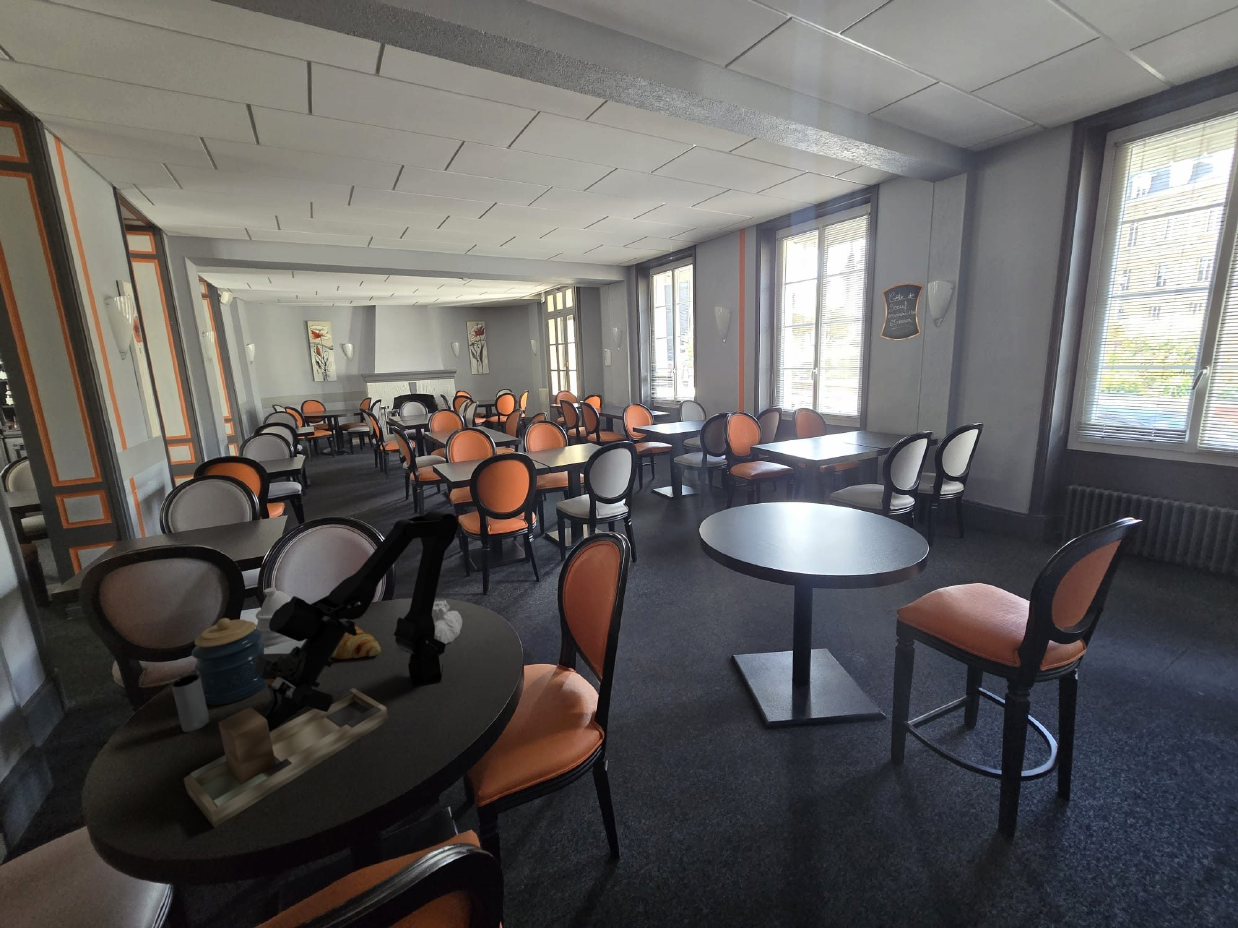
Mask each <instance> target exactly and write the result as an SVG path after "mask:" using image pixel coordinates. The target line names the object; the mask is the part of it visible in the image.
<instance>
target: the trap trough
mask: <svg viewBox="0 0 1238 928" xmlns="http://www.w3.org/2000/svg"><path fill="white" fill-rule="evenodd" d="M333 701H334V702H333V704H332V705H331V707H330V709H329V710H328V712H324V711H321V710H317V709H314V708H312V709H311V710H309V711H307V712H305V713H303V714H301V715H299V716H297V717H295V718H293V719H292V720H290V721H288V722H286V723H285V724H283V725H282V724H281V725H279V726H278V727H277V728H275V729H274V730H273V731H272V732H270V737H271V742H272V747H273V752H274V757H275V762H276V765H274V766H273V767H271V768H269V769H267V770H266V771H265V772H264V773H261V774H259V775H257V776H255V777H254V778H252V779H250V780H249V781H247V782H245V783H243V784H242V785H241V784H240V783H239V782H238V781H237V780H236V779H235V778H234V777H233V775H232V774H231V773H230V772H229V769H228V764H227V760H226V755H225V754H224V755H222V756H220V757H218V758H216V759H215V760H213V761H212V762H209V763H207V764H206V765H204V766H202V767H200V768H198V769H195V770H194V771H192V772H190V774H189V775H187V776H184V777H183V782H184V786H185V789H186V793H187V795H188V796H189V798H191V800H192V801H193V802H194V803H195V805H196V807H198V809H199V810H200V811H201V813H202V814H203V815H204V816H205V818H206V819H207V820H208V821H209V822H210V825H212V826H213V827H214V829H215V828H217V827H218V826H221V825H222V824H223V823H225V822H226V821H228V820H230V819H232V818H233V817H235V816H237V815H238V814H239V813H241V812H243V811H244V810H245V809H248V808H249V807H251V806H253V805H254V804H256V803H257V802H259V801H260V800H262V799H264V798H266V797H267V796H268V795H270V794H272V793H273V792H275V791H277V790H279V789H280V788H282V787H283V786H285V785H286V784H288V783H289V782H292V781H293V780H294V779H296V778H298V777H300V776H301V775H303V774H304V773H306V772H308V771H309V770H311V769H312V768H314V767H315V766H317V765H319V764H321V763H322V762H324V761H325V760H327V759H329V758H330V757H332V756H334V755H335V754H337V753H338V752H339V751H342V750H344V749H345V748H347V747H348V746H350V745H351V744H353V743H355V742H356V741H357V740H360V739H361V738H362V736H363V737H364V736H367V734H369V733H371V732H372V731H374V730H375V729H377V728H379V727H380V726H382V725H384V724H385V723H387V722H388V721H389V715H388V708H387V707H386V706H385V705H383V704H381V703H380V702H378V701H376V700H374V699H373V698H371V697H369V696H368V695H366V694H365V693H362V691H359V690H357V688H355V687H352V688H350V689H347V690H344V691H343V692H341V693H339V694H337V695H335V696H334V697H333Z"/></svg>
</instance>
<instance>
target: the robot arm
mask: <svg viewBox="0 0 1238 928" xmlns="http://www.w3.org/2000/svg"><path fill="white" fill-rule="evenodd" d="M458 529H459V520H458V519H457V516H456V515H454V514H453V513H449V512H444V511H438V510H430V511H427V512H426V513H425V514H423V515H417V516H412V517H409V518H406V519H405V518H404V519H400V520H397V521H396V522H395V523H394V525H393V527H392V529H391V530H390V531H389V533H388V534H387V535H386V537H384V538H383V540H382V541H381V542H380V544H379V545H378V546H377V547H376V548H375V549H374V551H373V552H372V553H371V554H370V555H369V557H368V558H367V559H366V560H365V562H364V564H362V565H361V567H360V568H359V569H358V570H357V571H356V572H355V573H353V574H352V575H350V576H349V577H348V576H347V577H346V578H345V579H343V580H342V581H341V582H340V583H339V584H338V585H336V586H335V587H334V588H333V589H332V590H331V591H330V592H329V594H328V595H326V596H324V597H322V598H320V599H318V600H316V601H314V602H312V603H309V602H307V601H306V600H304V599H302V598H300V597H298V596H296V595H293V596H292V597H291V600H290V601H289V602H286V603H285V604H283V605H282V606H281V607H280V608H279V609H277V610H276V611H275V612H274V614H273V616H272V618H271V620H270V623H269V629H270V630H271V631H273V632H275V633H278V634H281V635H283V636H286V637H288V638H291V639H294V640H296V641H303V640H305V639H306V640H305V642H304V643H303V645H302V646H301V648H300V647H297V646H296V647H295V648H293V649H292V651H291V652H290V654H282V653H277V654H260V655H259V657H258V660H257V663H256V666H255V670H254V673H255V674H258V675H259V676H260V678H262V679H275V681H274V682H273V684H272V685H268V684H266V687H267V689H268V692H269V691H270V693H269V696H270V695H271V699H270V701H269V705H268V708H267V713H266V716H265V717H264V718H265V719H266V720H267V722H268V727H269V732H272V731H273V730H275V729H277V728H279V727H280V726H282V724H283V723H285V722H286V721H287V720H289V719H290V718H291V717H294V715H295V714H297V713H298V712H300V711H301V710H302V709H304V708H306V707H308V708H310V709H311V708H312V709H317V710H321V711H324V712H328V710H329V709H330V707H331V705H332V704H333V702H334V701H333V696H334V695H333V694H331V692H328V691H326V689H323V688H320V687H319V686H320V685H321V683H320V682H318V679H319V677H320V675H321V674H322V673H323V671H324V669H325V668H326V667H328V668H331V667H332V665H333V663H334V661H332V660H331V658H332V657H331V656H332V655H333V653H334V652H335V650H336V648H337V647H338V645H339V644H340V642H341V640H342V639H343V637H344V636H345V634H346V633H348V634H351V635H353V636H356V635H357V632H356V629H355V626H356V622H355V621H353V620H356V619H361V617H363V616H364V615H365V614H366V613H367V612H368V609H369V607H370V606H371V604H372V603H373V601H374V599H375V596H376V591H377V588H378V585H379V584H380V582H381V581H382V580H383V578H384V577H385V575H387V573H389V570H390V569H391V568H392V567H393V565H394V564H395V563H396V562H397V560H398V559H399V558H400V556H401V555H402V554H403V553H404V552H405V550H406V549H407V547H409V545H410V544H411V542H412V541H413V540H415V539H419V538H420V541H421V546H422V553H421V556H420V561H419V565H418V570H417V575H416V579H415V584H414V590H413V593H412V597H411V601H410V602H411V603H410V608H409V610H408V612H407V614H405V616H404V617H398V618H397V620H396V628H395V631H394V633H393V636H394V637H395V641H394V642H395V643H396V645H397V646H398V648H400V649H402V650H404V652H405V653H409V655H410V656H409V660H408V663H407V664H408V666H407V668H408V674H409V680H411V681H412V682H411V686H412V687H418V686H423V685H427V684H433V683H437V682H442V680H443V673H444V664H443V663H442V658H441V657H442V656H441V655H443V654H445V649H446V645H447V644H445V643H443V642H441V641H439V640H437V639H435V624H434V620H435V619H434V616H432V610H433V606H434V602H436V601H435V600H436V595H437V591H438V587H439V580H440V578H441V577H440V576H441V571H442V567H443V562H444V558H445V554H446V552H447V549H449V547H450V546H451V545H452V543H453V542H454V541H455V539H456V535H457V533H458ZM324 617H327V618H328V619H324ZM343 619H346V620H345V621H344V620H343Z"/></svg>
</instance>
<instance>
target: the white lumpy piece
mask: <svg viewBox="0 0 1238 928" xmlns="http://www.w3.org/2000/svg"><path fill="white" fill-rule="evenodd" d="M446 601H447V600H446V599H444V600H437V601H434V606H433V610H432V616H433V617H434V616H435V618H434V619H433V620H434V624H435V639H437V640H439V641H441V642H443V643H445V644H446V645H447V644H448V643H452V642H454V640H455V639H456V638H457V637H458V636H460V632H461V629H462V628H463V627H462V626H463V618H462V617H461V614H460V613H459V611H457V610H449V609H450V605H449V604H448V602H446Z"/></svg>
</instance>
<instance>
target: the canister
mask: <svg viewBox="0 0 1238 928" xmlns="http://www.w3.org/2000/svg"><path fill="white" fill-rule="evenodd" d="M256 625H257V623H255V622H254V621H252V620H251V621H249V620H245V619H231V620H230V618H227V617H223V618H220V619H219V620H218V621H217V622H216V624H214V625H212V626H209V627H208V628H207V629H205V630H203V631H202V633H200V634H199V635H198V636H197V637H196V638H195V640H194V645H195V647H194V648H193V649H192V651H191V656H192V657H193V658H194V659H196V660H195V661H196V663H195V665H194V669H195V671H196V673H197V675H199V676H200V679H201V683H202V688H203V692H204V697H205V701H206V705H210V706H223V705H228V704H229V705H230V704H233V703H236V702H238V701H241V700H244V699H246V698H248V697H249V698H250V697H251V696H253V695H255V694H256V693H257V692H259V691H260V690H261V689H264V688H265V686H267V685H268V682H267V679H262V678H260V676H259V675H258V674H255V673H254V670H255V666H256V663H257V660H258V657H259V655H260V654H264V644H263V643H261V641H260V638H261V636H262V632H261V631H260V630H258V629H256Z"/></svg>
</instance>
